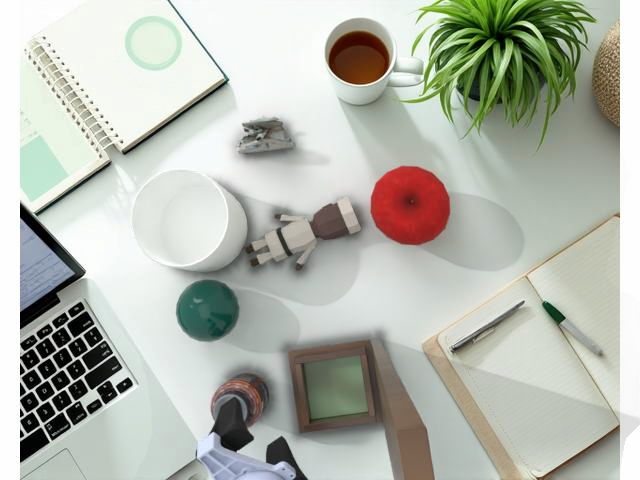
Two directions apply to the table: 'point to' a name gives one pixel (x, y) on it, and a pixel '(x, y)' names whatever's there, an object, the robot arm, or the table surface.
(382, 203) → the apple
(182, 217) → the cup
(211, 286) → the sphere
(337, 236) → the toy
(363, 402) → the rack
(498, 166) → the table surface
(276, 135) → the grey irregular chunk
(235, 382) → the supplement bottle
